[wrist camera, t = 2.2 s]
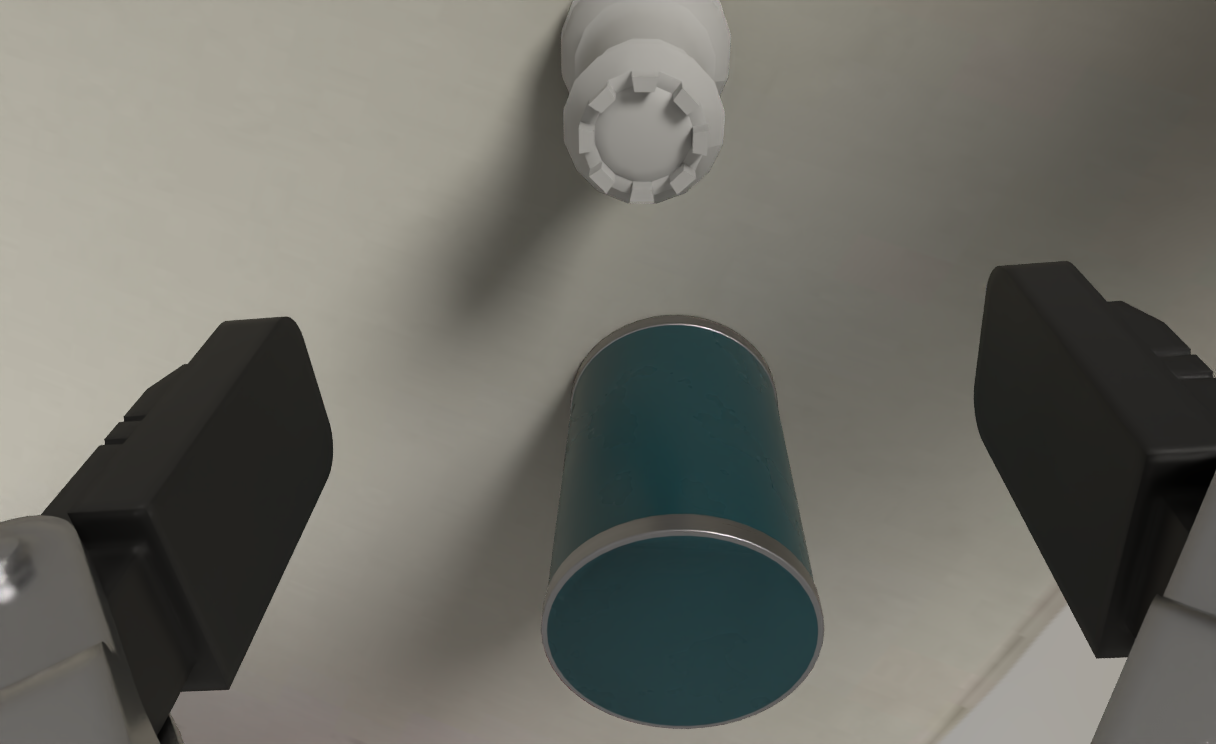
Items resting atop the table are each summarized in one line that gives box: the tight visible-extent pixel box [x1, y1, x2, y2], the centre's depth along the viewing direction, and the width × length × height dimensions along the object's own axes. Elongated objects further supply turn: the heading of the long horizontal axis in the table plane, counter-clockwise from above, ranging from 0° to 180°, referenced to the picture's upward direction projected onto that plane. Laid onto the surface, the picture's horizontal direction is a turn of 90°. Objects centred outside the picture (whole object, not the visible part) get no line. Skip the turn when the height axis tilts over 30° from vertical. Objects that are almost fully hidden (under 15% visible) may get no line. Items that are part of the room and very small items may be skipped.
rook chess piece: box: [561, 0, 731, 204], centre depth 21 cm, size 4×4×8 cm
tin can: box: [541, 315, 824, 729], centre depth 26 cm, size 7×7×10 cm
